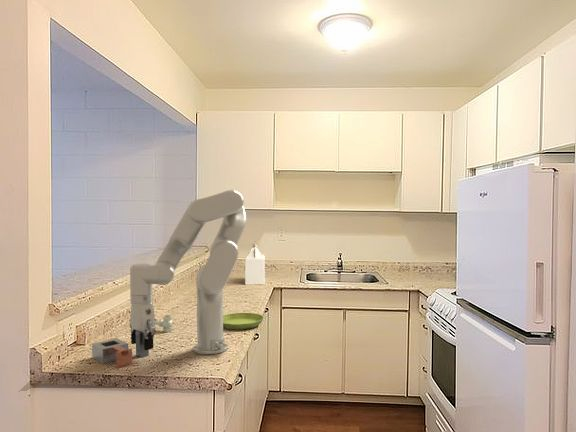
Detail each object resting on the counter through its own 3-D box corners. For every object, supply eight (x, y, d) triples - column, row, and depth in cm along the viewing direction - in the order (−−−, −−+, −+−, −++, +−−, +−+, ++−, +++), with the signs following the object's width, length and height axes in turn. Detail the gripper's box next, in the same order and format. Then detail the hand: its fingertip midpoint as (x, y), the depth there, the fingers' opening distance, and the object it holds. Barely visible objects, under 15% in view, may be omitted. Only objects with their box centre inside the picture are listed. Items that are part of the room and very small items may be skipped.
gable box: (246, 279, 323) (246, 241, 322) (265, 279, 324) (264, 240, 323) (245, 285, 301) (244, 243, 300) (264, 284, 301) (264, 243, 301)
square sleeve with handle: (92, 357, 157) (92, 343, 157) (117, 351, 164) (116, 338, 164) (111, 369, 146) (111, 354, 146) (137, 362, 152) (137, 347, 152)
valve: (176, 330, 193) (154, 327, 197) (176, 314, 192) (154, 312, 197) (166, 334, 187) (143, 331, 191) (166, 318, 186) (143, 315, 191)
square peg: (148, 355, 160) (148, 330, 159) (140, 357, 157) (139, 332, 157) (144, 353, 162) (143, 328, 162) (135, 355, 160) (135, 330, 159)
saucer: (261, 318, 213) (261, 311, 213) (266, 330, 192) (266, 322, 192) (217, 320, 209) (217, 313, 209) (217, 332, 189) (217, 325, 189)
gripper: (163, 300, 156) (164, 349, 156) (139, 293, 168) (140, 339, 168) (143, 304, 150) (144, 354, 151) (120, 296, 162) (121, 343, 163)
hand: (142, 346), depth 159 cm, fingers open, 9 cm apart
